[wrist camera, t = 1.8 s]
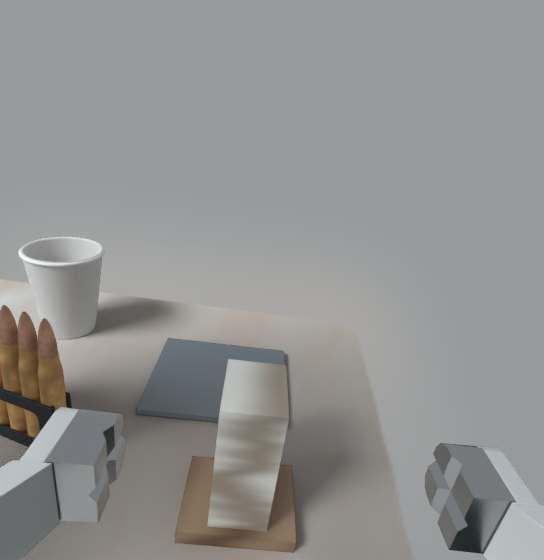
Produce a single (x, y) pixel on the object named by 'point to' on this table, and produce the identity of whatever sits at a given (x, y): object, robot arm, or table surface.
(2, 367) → the ammunition clip
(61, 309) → the dixie cup
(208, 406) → the slate mat
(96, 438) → the robot arm
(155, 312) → the table surface
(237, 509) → the pale pillar on plinth
